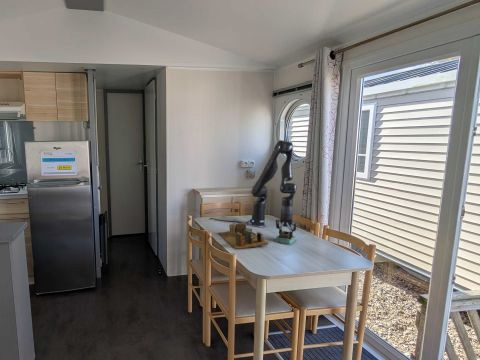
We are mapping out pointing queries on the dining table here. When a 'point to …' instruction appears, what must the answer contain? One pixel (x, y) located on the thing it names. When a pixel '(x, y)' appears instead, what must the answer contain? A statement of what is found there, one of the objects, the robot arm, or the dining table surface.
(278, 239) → the holder
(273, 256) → the dining table surface
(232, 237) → the brown tray with blocks
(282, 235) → the frame
